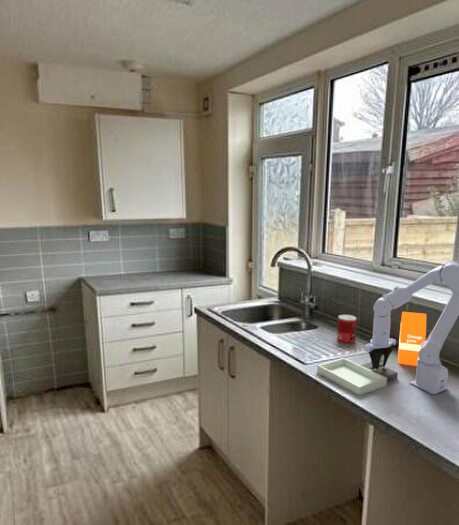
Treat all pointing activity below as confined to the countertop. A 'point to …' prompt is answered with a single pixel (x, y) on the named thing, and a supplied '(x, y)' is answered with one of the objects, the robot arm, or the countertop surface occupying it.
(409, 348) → the orange juice
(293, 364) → the countertop surface
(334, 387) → the countertop surface
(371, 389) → the parts tray
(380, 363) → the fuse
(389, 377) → the fuse holder
